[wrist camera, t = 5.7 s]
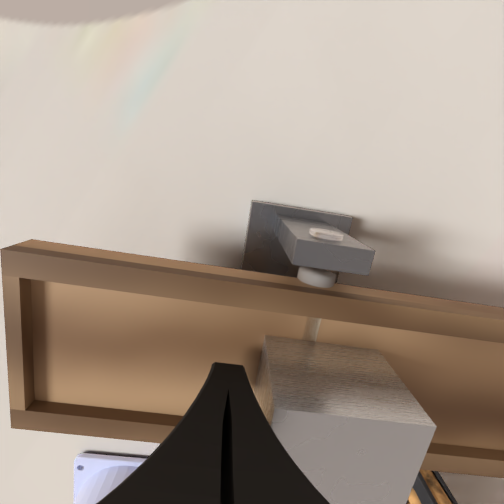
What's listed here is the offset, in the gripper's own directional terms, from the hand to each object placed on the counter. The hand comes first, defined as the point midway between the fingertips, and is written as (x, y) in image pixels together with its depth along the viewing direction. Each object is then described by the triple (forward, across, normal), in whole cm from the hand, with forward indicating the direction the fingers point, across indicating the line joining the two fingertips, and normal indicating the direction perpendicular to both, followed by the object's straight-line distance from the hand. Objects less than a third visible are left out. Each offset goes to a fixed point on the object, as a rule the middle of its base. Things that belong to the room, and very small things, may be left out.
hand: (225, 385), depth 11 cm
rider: (+1, -4, +1) cm, 4 cm away
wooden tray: (+2, -3, 0) cm, 4 cm away
